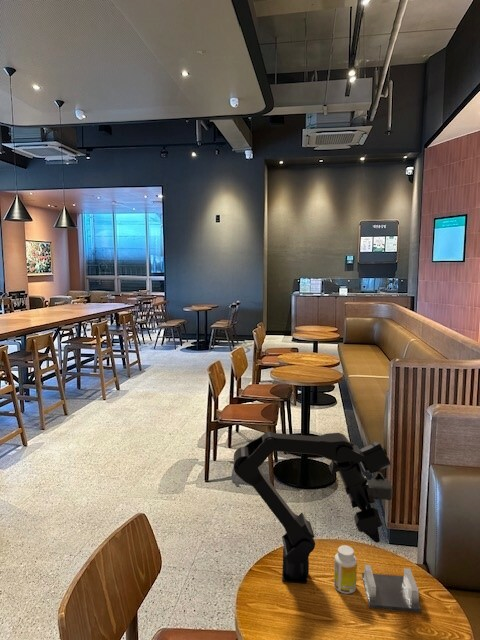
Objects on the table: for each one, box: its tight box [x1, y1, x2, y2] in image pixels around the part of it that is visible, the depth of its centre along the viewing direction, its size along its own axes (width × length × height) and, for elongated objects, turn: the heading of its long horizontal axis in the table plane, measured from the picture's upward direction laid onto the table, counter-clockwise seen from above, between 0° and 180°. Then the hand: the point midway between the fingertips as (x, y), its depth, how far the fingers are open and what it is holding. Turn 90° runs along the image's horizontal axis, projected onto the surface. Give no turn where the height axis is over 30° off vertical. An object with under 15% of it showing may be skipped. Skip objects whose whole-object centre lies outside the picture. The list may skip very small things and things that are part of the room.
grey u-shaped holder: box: [361, 564, 422, 614], centre depth 108 cm, size 11×12×4 cm
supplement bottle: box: [333, 545, 358, 595], centre depth 110 cm, size 6×6×10 cm
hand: (374, 530), depth 114 cm, fingers open, 9 cm apart
